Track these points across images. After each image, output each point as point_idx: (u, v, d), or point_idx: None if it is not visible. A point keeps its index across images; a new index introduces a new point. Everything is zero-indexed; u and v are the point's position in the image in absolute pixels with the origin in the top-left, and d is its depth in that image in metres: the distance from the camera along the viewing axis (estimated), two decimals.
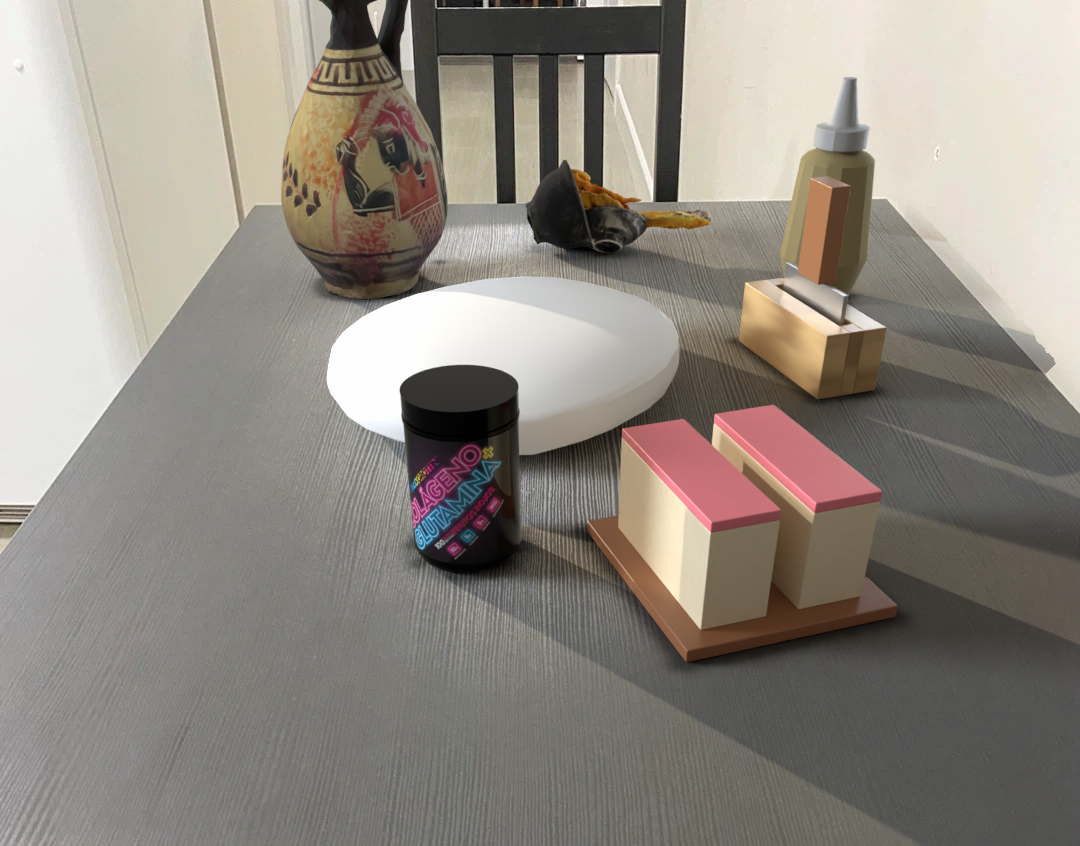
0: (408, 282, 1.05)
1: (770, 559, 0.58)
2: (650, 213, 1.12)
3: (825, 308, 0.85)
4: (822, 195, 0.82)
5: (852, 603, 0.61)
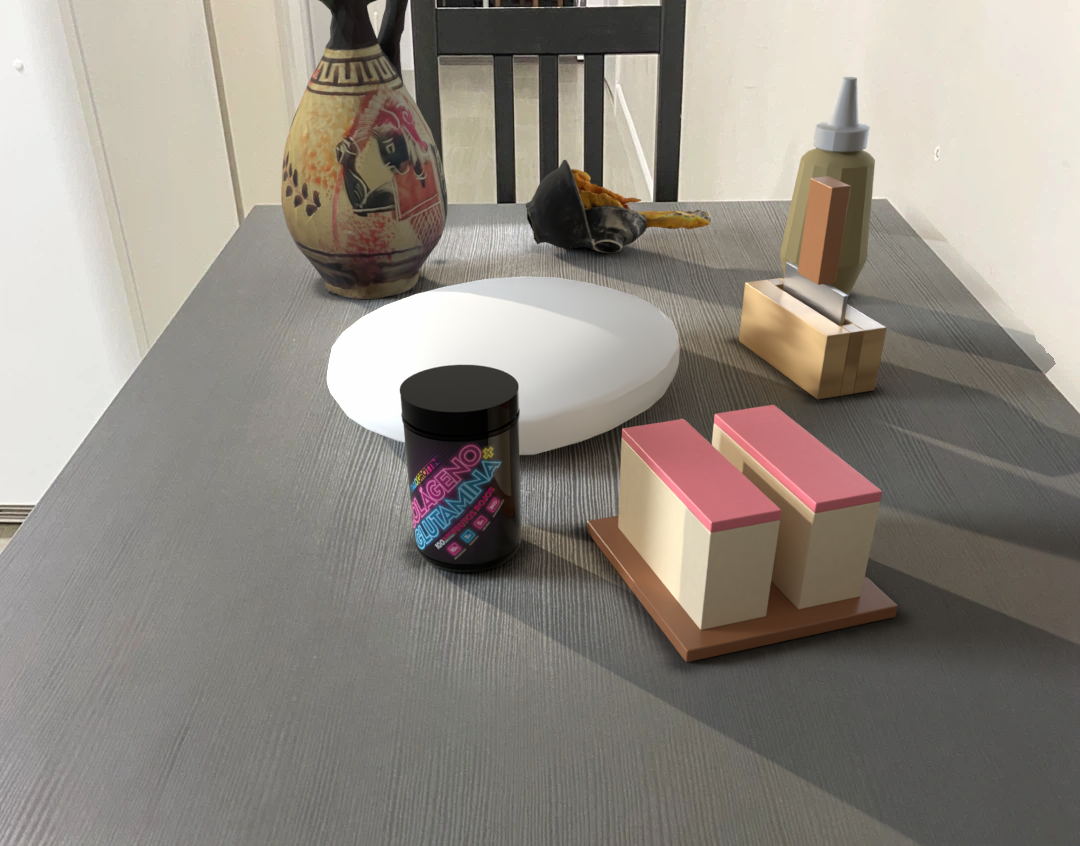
0: (408, 282, 1.05)
1: (770, 559, 0.58)
2: (650, 213, 1.12)
3: (825, 308, 0.85)
4: (822, 195, 0.82)
5: (852, 603, 0.61)
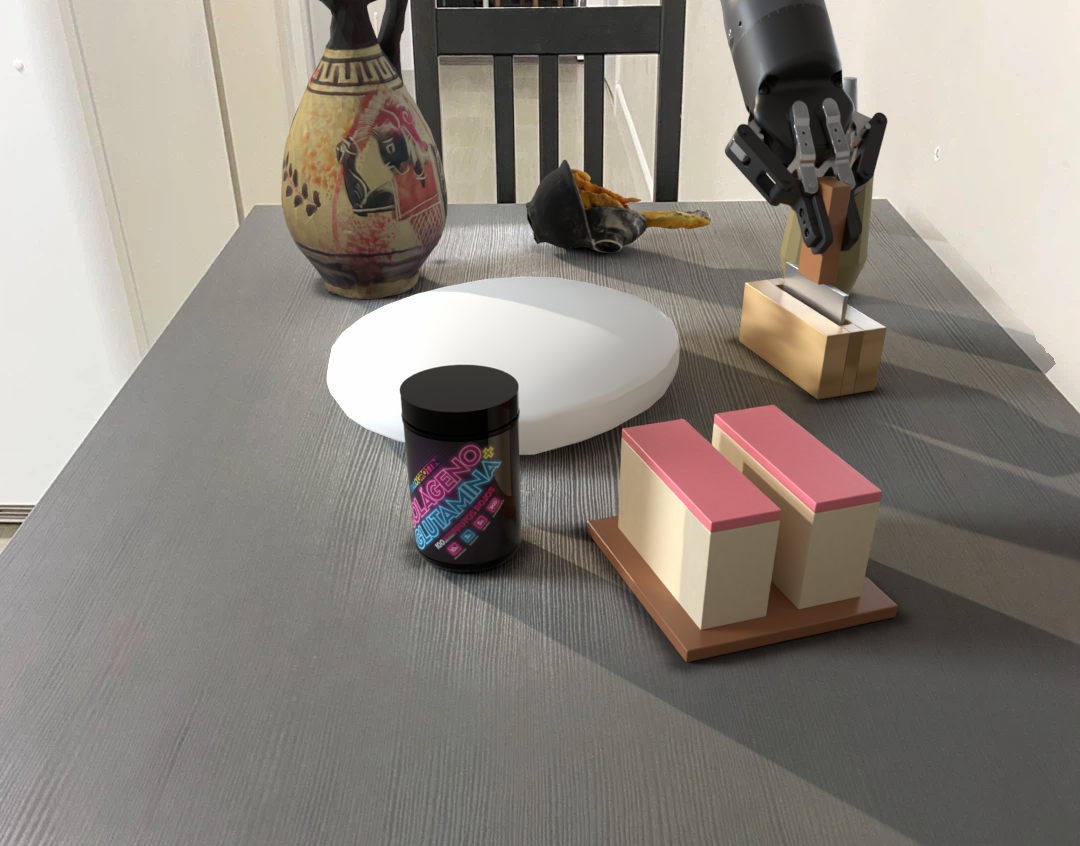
0: (408, 282, 1.05)
1: (770, 559, 0.58)
2: (650, 213, 1.12)
3: (825, 308, 0.85)
4: (822, 195, 0.82)
5: (852, 603, 0.61)
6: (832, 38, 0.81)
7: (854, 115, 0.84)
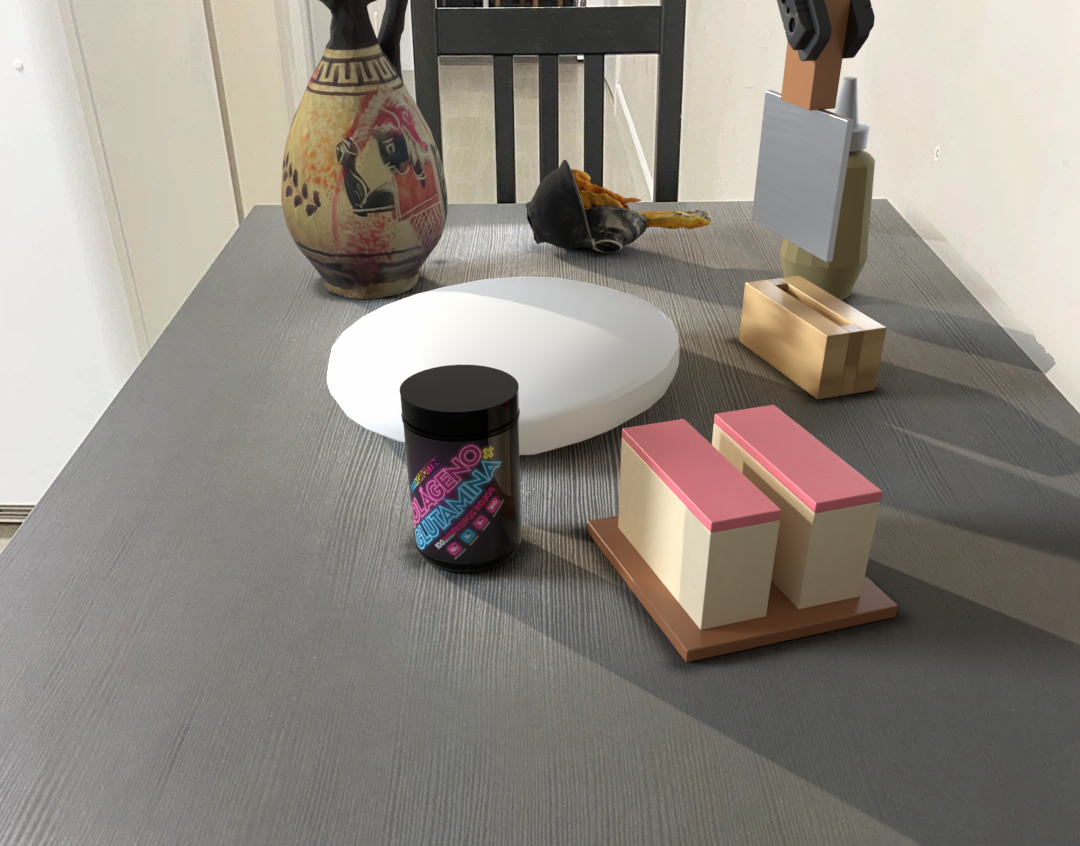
0: (408, 282, 1.05)
1: (770, 559, 0.58)
2: (650, 213, 1.12)
3: (820, 146, 0.58)
4: None
5: (852, 603, 0.61)
6: None
7: None
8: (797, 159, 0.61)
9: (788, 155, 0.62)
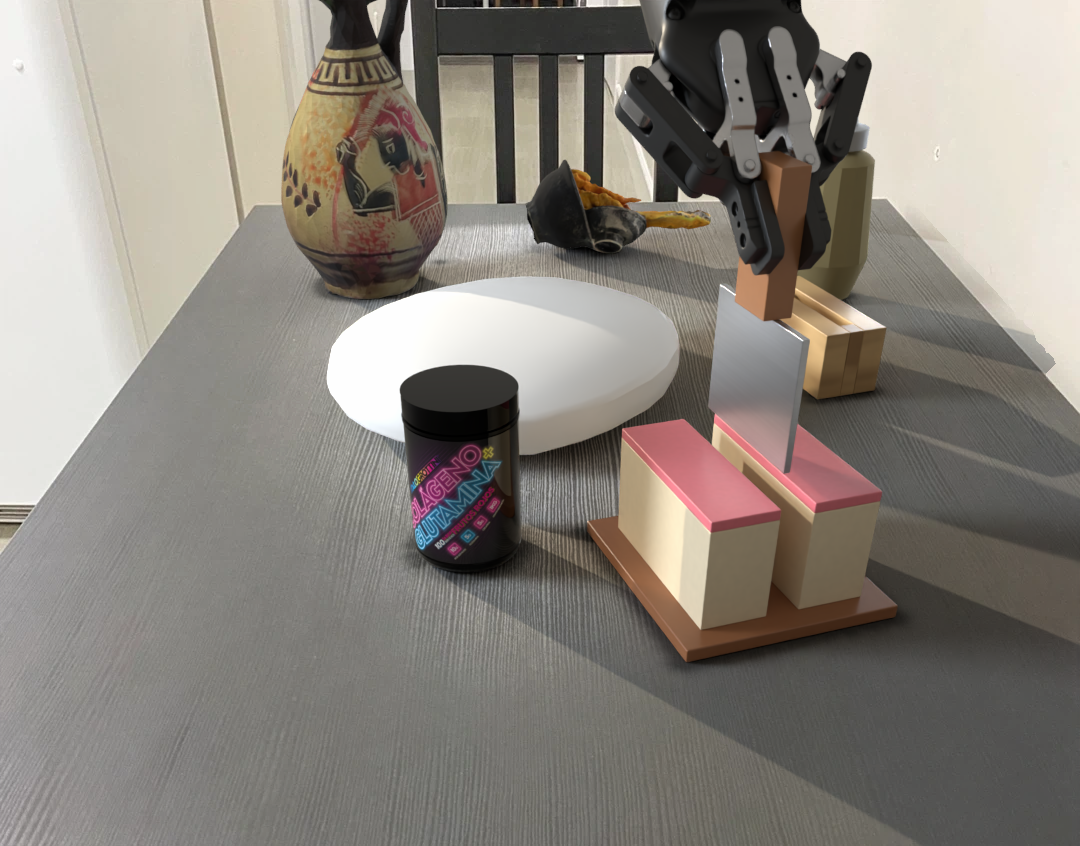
0: (408, 282, 1.05)
1: (770, 559, 0.58)
2: (650, 213, 1.12)
3: (775, 357, 0.55)
4: (767, 180, 0.51)
5: (852, 603, 0.61)
6: None
7: (820, 56, 0.54)
8: (752, 362, 0.57)
9: (743, 355, 0.58)
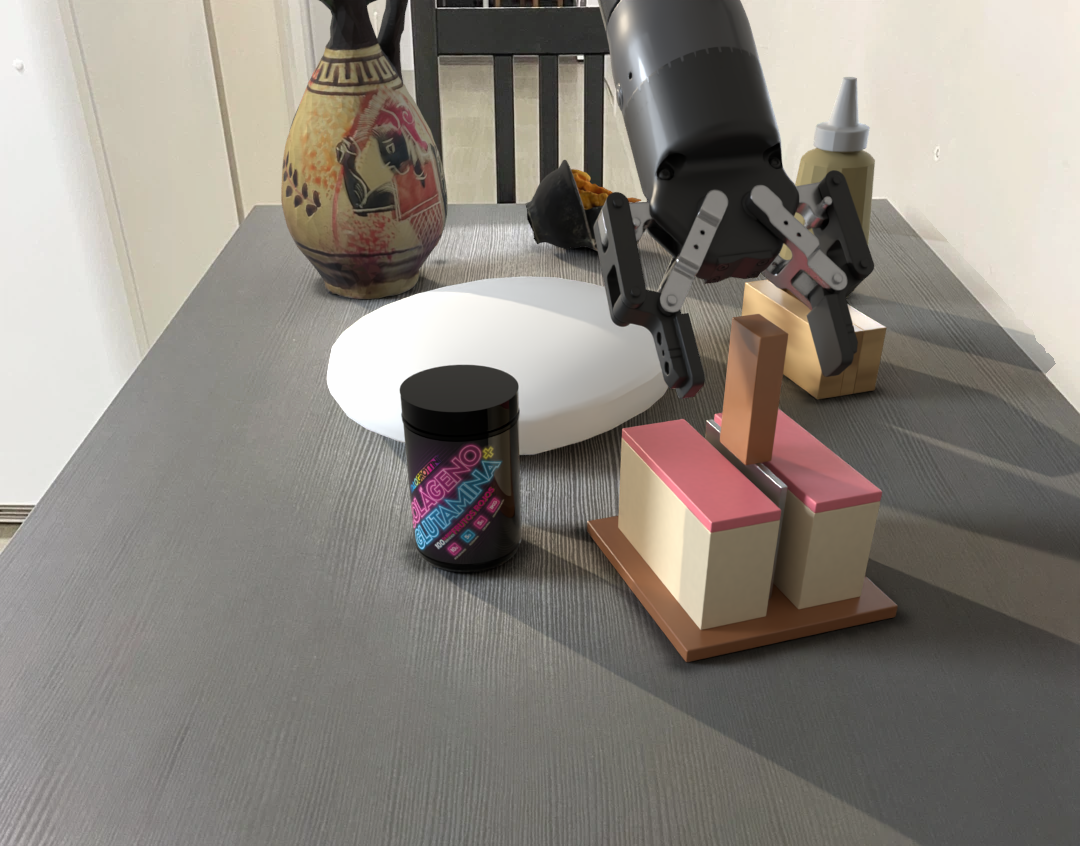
0: (408, 282, 1.05)
1: (770, 559, 0.58)
2: None
3: None
4: (747, 344, 0.56)
5: (852, 603, 0.61)
6: (764, 98, 0.55)
7: (798, 193, 0.58)
8: None
9: None
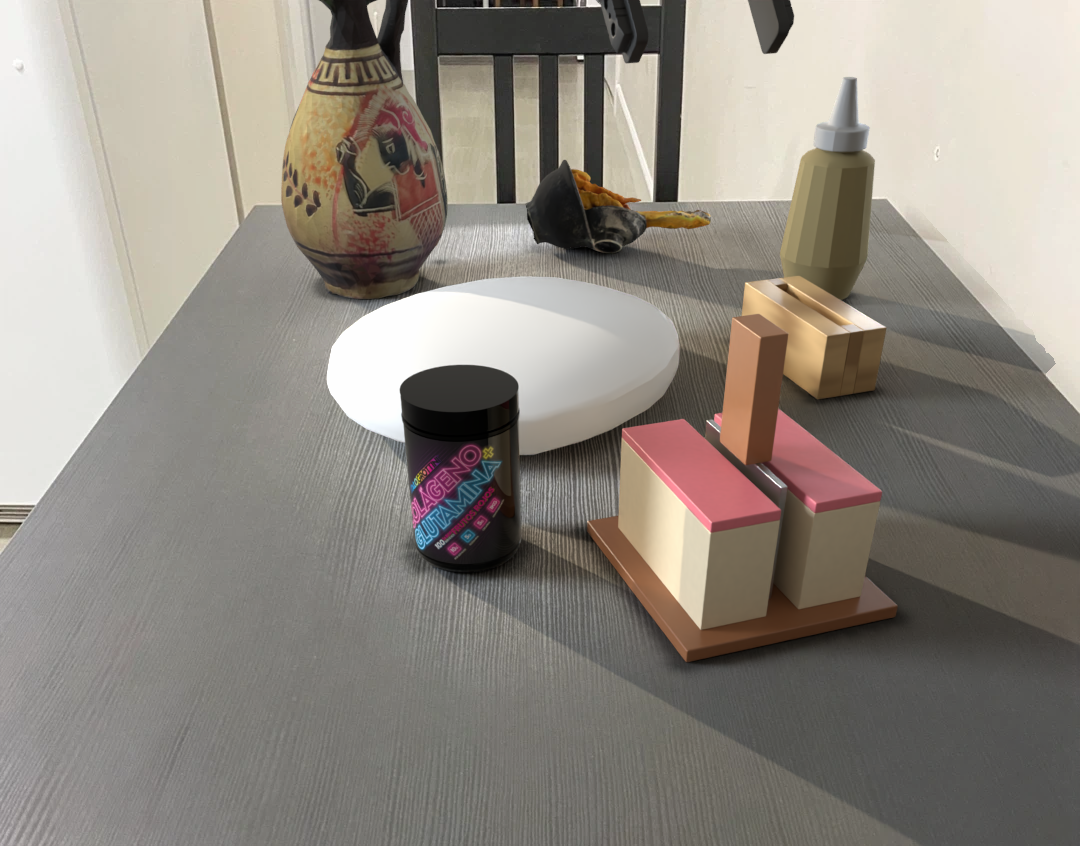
0: (408, 282, 1.05)
1: (770, 559, 0.58)
2: (650, 213, 1.12)
3: None
4: (747, 344, 0.56)
5: (852, 603, 0.61)
6: None
7: None
8: None
9: None
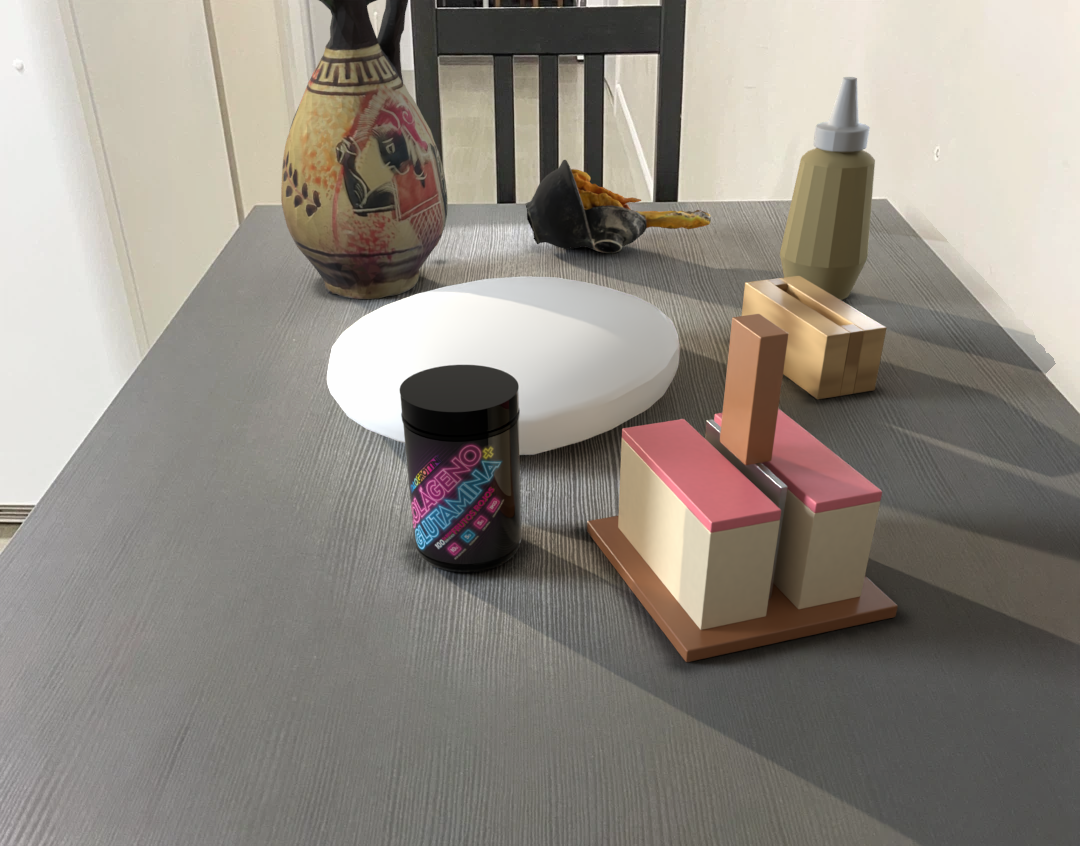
0: (408, 282, 1.05)
1: (770, 559, 0.58)
2: (650, 213, 1.12)
3: None
4: (747, 344, 0.56)
5: (852, 603, 0.61)
6: None
7: None
8: None
9: None
